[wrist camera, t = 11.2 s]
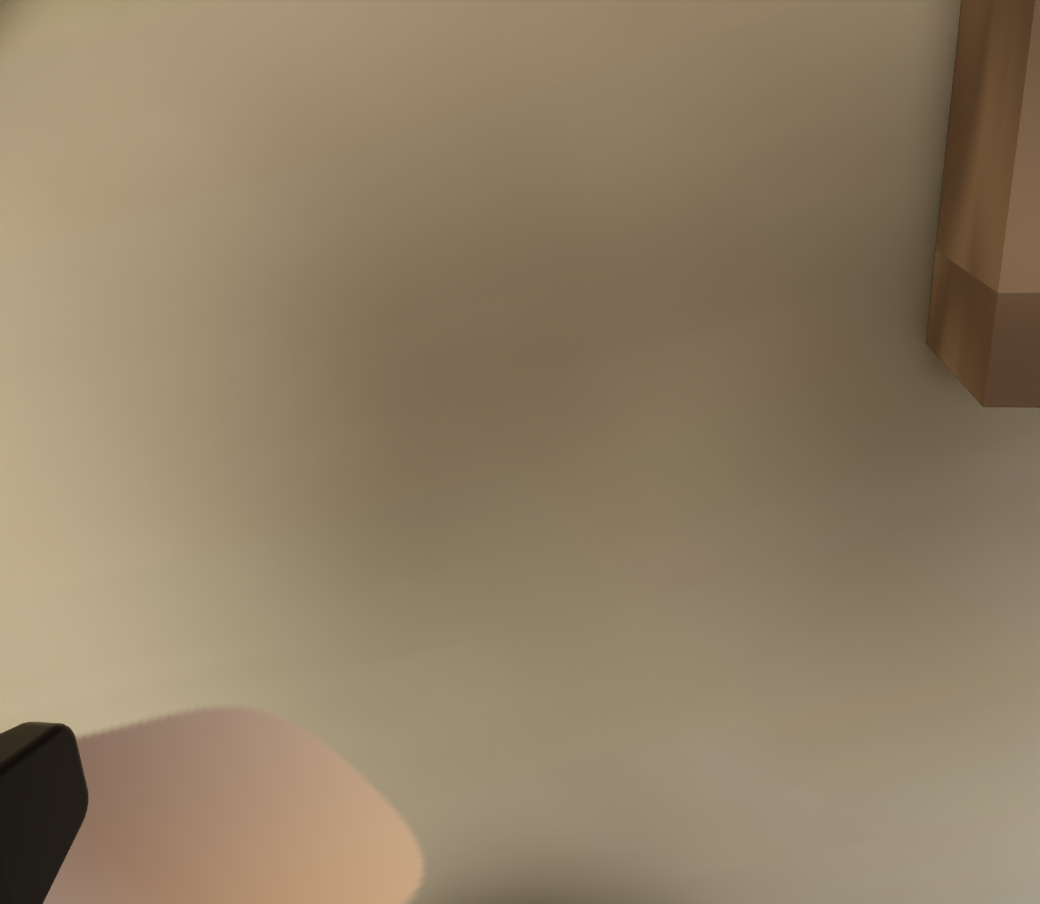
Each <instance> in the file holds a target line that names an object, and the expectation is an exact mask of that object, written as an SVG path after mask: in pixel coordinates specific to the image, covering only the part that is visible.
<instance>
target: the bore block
mask: <svg viewBox="0 0 1040 904" xmlns="http://www.w3.org/2000/svg"><path fill="white" fill-rule="evenodd" d="M926 344H927V345H928V346H929V347H930V348H931V350H932V351H933V352H934V353H935V354H936V355H937V356H938V357H939V358H940V360H941V361H942V362H943V363H944V364H945V365H946V366H947V367H948V368H949V370H950V371H951V372H952V373H953V374H954V375H955V376H956V377H957V378H958V380H959V381H960V382H961V383H962V384H963V385H964V386H965V387H966V388H967V390H968V391H969V392H970V393H971V394H972V395H973V396H974V397H975V398H976V400H977V401H978V402H979V403H980V404H981V405H982V406H983V407H1038V408H1040V0H962V3H961V13H960V22H959V32H958V41H957V51H956V61H955V70H954V80H953V89H952V99H951V108H950V118H949V128H948V137H947V147H946V156H945V166H944V175H943V185H942V195H941V204H940V214H939V223H938V233H937V242H936V252H935V262H934V271H933V281H932V290H931V300H930V309H929V319H928V329H927V338H926Z"/></svg>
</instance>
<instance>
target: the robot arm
mask: <svg viewBox="0 0 1040 904" xmlns="http://www.w3.org/2000/svg"><path fill="white" fill-rule="evenodd" d="M87 807H88V789H87V784H86V780H85V776H84V771H83V768H82V763H81V759H80V754H79V750H78V746H77V741H76V738H75V735H74V733H73V731H72V730H71V728H70V727H68V726H66V725H64V724H61V723H46V722H27V723H23V724H20V725H18V726H16V727H14V728H12V729H10V730H7V731H5V732H3V733H1V734H0V904H43V902H44V900H45V898H46V896H47V894H48V892H49V890H50V888H51V886H52V884H53V882H54V879H55V877H56V875H57V873H58V871H59V869H60V867H61V865H62V863H63V861H64V859H65V857H66V855H67V853H68V851H69V849H70V847H71V845H72V843H73V841H74V839H75V837H76V835H77V833H78V831H79V829H80V827H81V825H82V823H83V820H84V818H85V815H86V811H87Z"/></svg>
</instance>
